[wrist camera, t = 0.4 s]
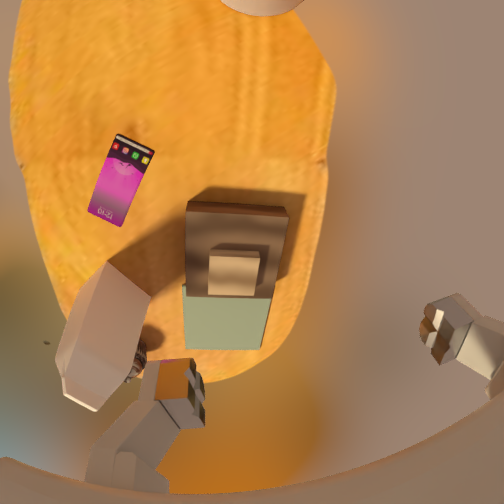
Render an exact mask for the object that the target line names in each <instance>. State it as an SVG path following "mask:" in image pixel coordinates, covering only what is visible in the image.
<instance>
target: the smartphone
mask: <svg viewBox="0 0 504 504" xmlns="http://www.w3.org/2000/svg"><path fill="white" fill-rule="evenodd" d="M154 153H155V152H154V151H153V150H151V149H149V148H147V147H145V146H143V145H141V144H139V143H137V142H135V141H132V140H130V139H128V138H126V137H124V136H122V135H120V134H116V137H115V139H114V141H113V143H112V146H111V148H110V150H109V153H108V155H107V158H106V160H105V162H104V165H103V168H102V170H101V173H100V175H99V178H98V181H97V183H96V186H95V189H94V192H93V195H92V198H91V201H90V204H89V207H88V212H90V213H92V214H94V215H96V216H98V217H100V218H102V219H104V220H106V221H108V222H110V223H112V224H114V225H116V226H118V227H121V226H122V224H123V222H124V219H125V217H126V215H127V212H128V210H129V207H130V205H131V203H132V200H133V198H134V196H135V193H136V191H137V189H138V187H139V184H140V182H141V180H142V178H143V176H144V173H145V171H146V169H147V167H148V165H149V163H150V161H151V159H152V157H153V155H154Z"/></svg>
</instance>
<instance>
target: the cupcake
mask: <svg viewBox="0 0 504 504" xmlns="http://www.w3.org/2000/svg"><path fill="white" fill-rule="evenodd" d="M146 363H147V357H146V345H145V343H144V342H143V341H142V340H141V339H140V338H139V341H138V345H137V349H136V353H135V357H134V361H133V365H132V368H131V371H130V373H129V374H128V376H127V377H126V378H125V380H124V382H126V383H127V382H128V383H129V382H130V381H131V378H134V377H136V376H137V375H139V374H140V373H141V371H142V370H143V369H144V368H145V365H146Z"/></svg>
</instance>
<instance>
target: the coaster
mask: <svg viewBox="0 0 504 504" xmlns="http://www.w3.org/2000/svg"><path fill="white" fill-rule="evenodd" d="M259 263H260V255H259V251H241V250H218V249H210V256H209V278H208V295H244V296H254V292H255V286H256V280H257V274H258V268H259Z"/></svg>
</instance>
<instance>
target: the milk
mask: <svg viewBox="0 0 504 504" xmlns="http://www.w3.org/2000/svg"><path fill="white" fill-rule="evenodd" d="M150 299H151V297H150V296H149V295H148V294H147V293H145V292H144V291H143V290H142V289H140V288H139V287H138V286H137V285H135V284H134V283H133V282H132V281H130V280H129V279H128V278H127V277H126V276H124V275H123V274H122V273H121V272H120V271H118V270H117V269H116V268H115V267H114V266H113V265H111V264H110V263H109V262H108V261H106V262H105V263H104V264H103V265H102V266H101V267H100V268H99V269H98V270H97V271H96V272H95V273H94V274H93V275H92V276H91V277H90V278H89V280H88V281H87V282H86V283H85V284H84V285H83V286H82V287H81V288H80V289H79V292H78V294H77V297H76V299H75V302H74V304H73V307H72V309H71V312H70V315H69V317H68V320H67V323H66V326H65V329H64V332H63V335H62V338H61V341H60V344H59V347H58V350H57V354H56V358H55V361H56V365H57V367H58V370H59V372H60V375H61V377H62V386H63V395H64V396H66V397H68V398H70V399H71V400H73V401H75V402H77V403H79V404H80V405H83V406H84V407H86V408H88V409H90V410H92V411H94V412H95V411H98V410H99V409H100V408H101V406H102V405H103V404H104V403H105V401H106V399H108V398H109V397H110V396H111V394H112V393H113V392H114V391H115V390H116V389H117V388H118V386H119V385H120V384H121V383H122V382H123V381H124V380H125V378H126V377H127V376H128V374H129V373H130V371H131V368H132V365H133V361H134V357H135V353H136V349H137V345H138V341H139V338H140V334H141V330H142V327H143V323H144V320H145V316H146V313H147V309H148V306H149V303H150Z"/></svg>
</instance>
